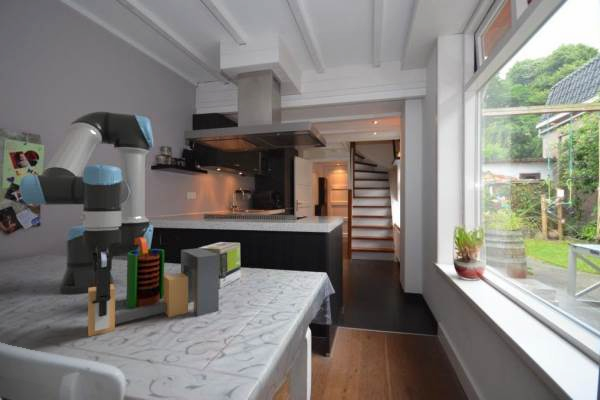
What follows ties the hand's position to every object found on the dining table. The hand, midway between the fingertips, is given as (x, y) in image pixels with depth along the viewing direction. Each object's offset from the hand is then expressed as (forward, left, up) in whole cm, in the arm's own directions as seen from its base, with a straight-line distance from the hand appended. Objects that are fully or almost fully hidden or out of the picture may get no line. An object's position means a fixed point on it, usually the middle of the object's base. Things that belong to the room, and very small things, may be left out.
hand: (101, 324), depth 65 cm
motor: (-14, +12, -1) cm, 18 cm away
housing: (0, +24, -1) cm, 24 cm away
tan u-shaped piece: (0, +9, -1) cm, 9 cm away
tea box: (-19, +39, -2) cm, 43 cm away
